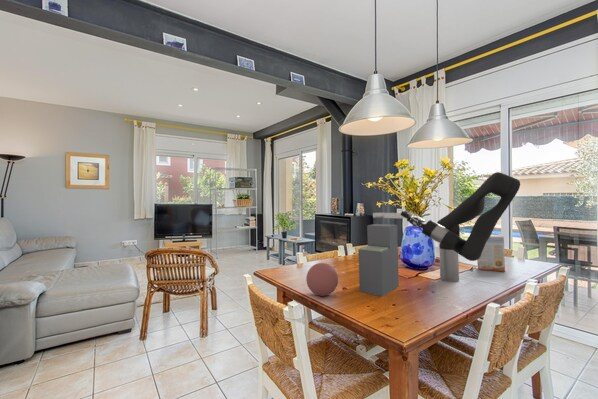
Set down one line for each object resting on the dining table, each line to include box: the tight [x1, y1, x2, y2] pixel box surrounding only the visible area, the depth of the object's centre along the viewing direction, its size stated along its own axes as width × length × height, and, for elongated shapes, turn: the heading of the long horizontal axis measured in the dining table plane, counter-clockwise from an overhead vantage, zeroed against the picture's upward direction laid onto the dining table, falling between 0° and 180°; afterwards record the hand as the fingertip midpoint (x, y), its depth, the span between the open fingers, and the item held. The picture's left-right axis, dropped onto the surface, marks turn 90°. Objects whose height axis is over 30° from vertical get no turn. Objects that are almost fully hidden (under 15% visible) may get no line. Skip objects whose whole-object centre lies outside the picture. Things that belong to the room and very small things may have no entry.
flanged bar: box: [372, 212, 415, 219], centre depth 144 cm, size 6×21×2 cm, turn 49°
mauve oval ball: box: [305, 262, 339, 297], centre depth 139 cm, size 15×20×15 cm
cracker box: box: [476, 235, 506, 273], centre depth 175 cm, size 14×6×21 cm, turn 58°
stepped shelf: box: [357, 223, 400, 298], centre depth 144 cm, size 20×12×32 cm, turn 140°
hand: (402, 212), depth 141 cm, fingers closed on flanged bar, 2 cm apart
